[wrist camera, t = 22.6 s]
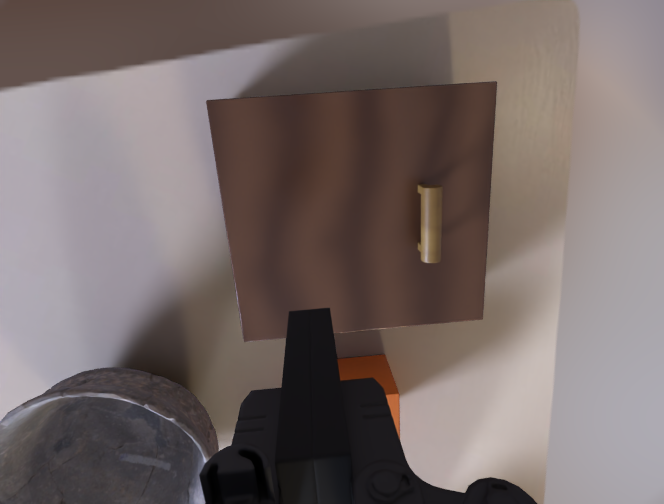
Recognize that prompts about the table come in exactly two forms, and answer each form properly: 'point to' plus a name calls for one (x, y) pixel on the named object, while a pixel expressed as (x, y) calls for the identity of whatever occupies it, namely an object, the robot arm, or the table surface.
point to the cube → (380, 372)
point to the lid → (357, 204)
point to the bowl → (106, 442)
